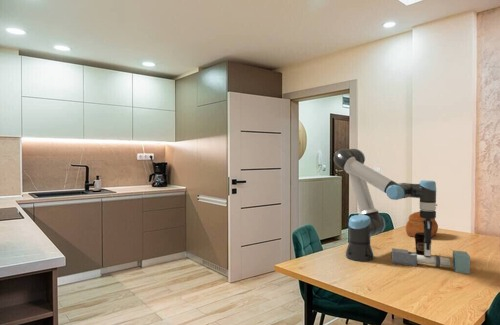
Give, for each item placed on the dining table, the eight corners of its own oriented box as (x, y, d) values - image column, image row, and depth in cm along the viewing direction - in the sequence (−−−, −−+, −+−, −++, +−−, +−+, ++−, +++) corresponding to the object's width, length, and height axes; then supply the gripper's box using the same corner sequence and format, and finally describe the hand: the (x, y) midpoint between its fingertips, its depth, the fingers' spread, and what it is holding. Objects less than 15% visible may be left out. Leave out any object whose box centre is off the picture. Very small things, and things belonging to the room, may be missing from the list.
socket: (455, 272, 160) (455, 255, 160) (452, 266, 168) (452, 250, 168) (469, 273, 158) (470, 256, 157) (466, 268, 166) (466, 251, 166)
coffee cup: (432, 258, 182) (433, 235, 182) (417, 257, 183) (417, 234, 183) (427, 253, 190) (427, 231, 190) (412, 253, 192) (412, 231, 192)
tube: (396, 262, 173) (396, 237, 173) (396, 259, 178) (396, 235, 178) (450, 269, 162) (450, 242, 162) (448, 266, 168) (448, 239, 167)
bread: (439, 234, 236) (439, 211, 236) (430, 240, 221) (430, 215, 221) (413, 231, 249) (413, 209, 248) (403, 236, 233) (403, 212, 233)
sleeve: (391, 263, 173) (391, 251, 173) (392, 260, 179) (392, 248, 179) (416, 266, 168) (417, 254, 168) (416, 262, 174) (416, 250, 174)
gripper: (437, 213, 160) (437, 260, 160) (434, 208, 174) (434, 251, 175) (420, 212, 163) (420, 258, 163) (418, 207, 177) (418, 249, 178)
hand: (427, 254), depth 169 cm, fingers closed on tube, 3 cm apart
